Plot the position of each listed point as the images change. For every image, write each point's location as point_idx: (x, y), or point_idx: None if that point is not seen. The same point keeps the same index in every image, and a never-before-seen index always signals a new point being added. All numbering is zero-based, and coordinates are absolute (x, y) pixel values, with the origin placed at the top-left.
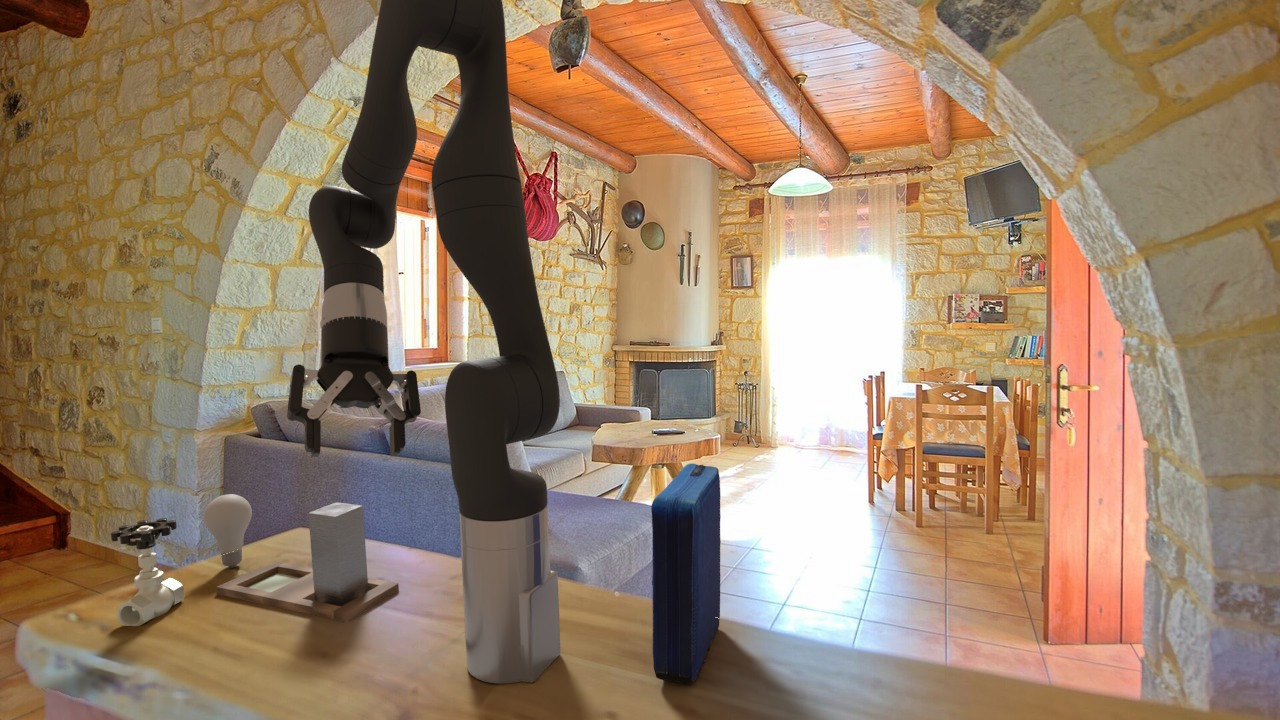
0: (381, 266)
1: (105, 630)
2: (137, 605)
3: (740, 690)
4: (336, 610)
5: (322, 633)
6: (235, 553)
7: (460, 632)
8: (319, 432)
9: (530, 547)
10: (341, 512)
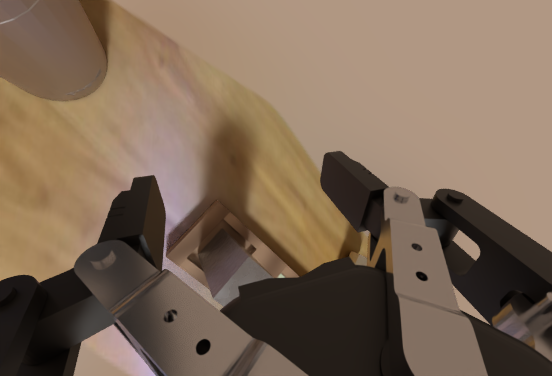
0: None
1: None
2: (363, 256)
3: None
4: (227, 212)
5: (236, 198)
6: None
7: (105, 143)
8: (352, 172)
9: None
10: (241, 273)
